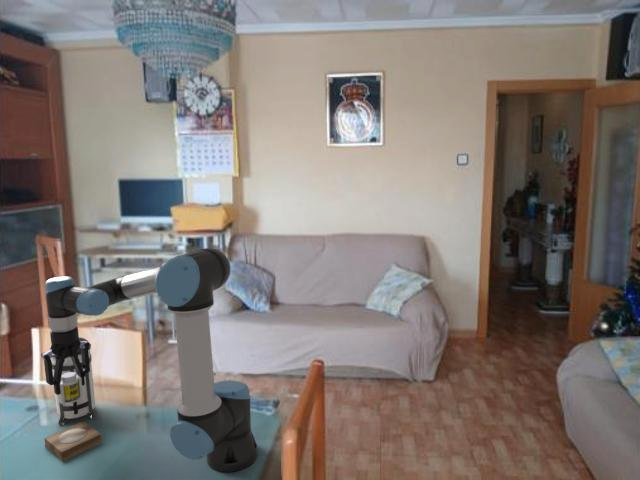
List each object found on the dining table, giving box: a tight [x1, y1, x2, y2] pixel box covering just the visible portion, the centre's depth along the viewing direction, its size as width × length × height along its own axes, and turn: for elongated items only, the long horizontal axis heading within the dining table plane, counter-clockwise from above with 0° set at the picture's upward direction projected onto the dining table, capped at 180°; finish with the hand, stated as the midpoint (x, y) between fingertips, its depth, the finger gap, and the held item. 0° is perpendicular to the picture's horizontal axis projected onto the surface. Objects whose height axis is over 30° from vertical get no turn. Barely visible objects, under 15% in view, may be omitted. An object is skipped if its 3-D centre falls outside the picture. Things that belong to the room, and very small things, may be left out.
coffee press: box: [51, 336, 96, 426], centre depth 168 cm, size 17×16×30 cm
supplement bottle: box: [61, 372, 79, 403], centre depth 151 cm, size 5×5×8 cm
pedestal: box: [43, 421, 103, 462], centre depth 154 cm, size 12×12×3 cm
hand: (71, 399), depth 152 cm, fingers closed on supplement bottle, 5 cm apart
